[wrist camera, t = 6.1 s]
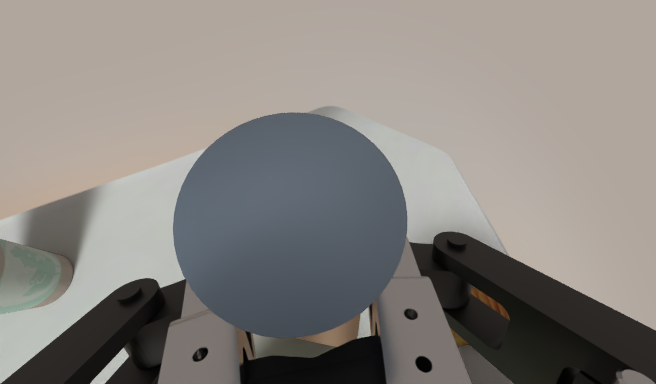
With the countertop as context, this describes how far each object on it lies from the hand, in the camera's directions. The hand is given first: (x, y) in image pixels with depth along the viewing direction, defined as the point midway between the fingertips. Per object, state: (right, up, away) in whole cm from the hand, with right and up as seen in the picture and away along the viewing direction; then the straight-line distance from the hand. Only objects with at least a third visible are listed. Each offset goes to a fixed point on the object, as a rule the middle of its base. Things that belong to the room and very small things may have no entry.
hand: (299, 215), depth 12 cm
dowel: (0, -4, +5) cm, 7 cm away
